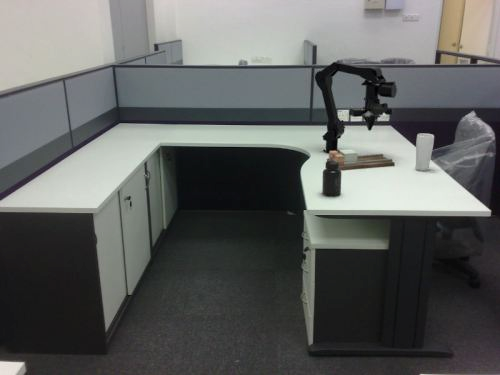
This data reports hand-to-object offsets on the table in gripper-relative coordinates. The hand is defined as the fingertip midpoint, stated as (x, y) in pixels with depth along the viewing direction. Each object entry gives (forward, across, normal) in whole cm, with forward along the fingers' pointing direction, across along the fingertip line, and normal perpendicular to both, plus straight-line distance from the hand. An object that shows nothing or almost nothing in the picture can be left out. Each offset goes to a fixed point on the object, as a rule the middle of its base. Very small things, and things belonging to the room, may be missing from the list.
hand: (369, 130), depth 213 cm
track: (+13, -8, -8) cm, 17 cm away
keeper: (+11, -13, -8) cm, 19 cm away
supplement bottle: (+13, -34, -41) cm, 55 cm away
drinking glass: (+13, +14, -23) cm, 30 cm away
